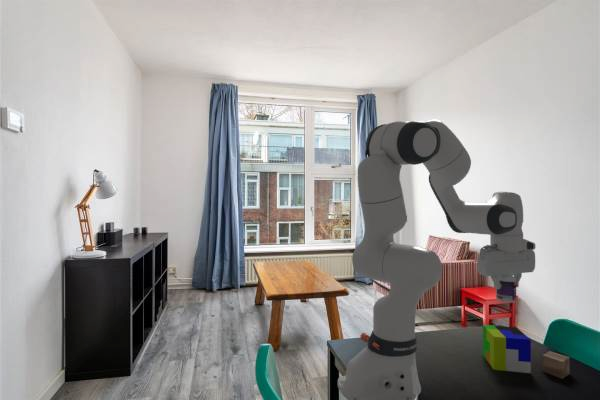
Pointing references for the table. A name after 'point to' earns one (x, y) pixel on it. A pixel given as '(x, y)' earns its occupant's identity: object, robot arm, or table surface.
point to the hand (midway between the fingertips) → (506, 287)
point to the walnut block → (556, 364)
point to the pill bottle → (507, 288)
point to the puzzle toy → (507, 348)
